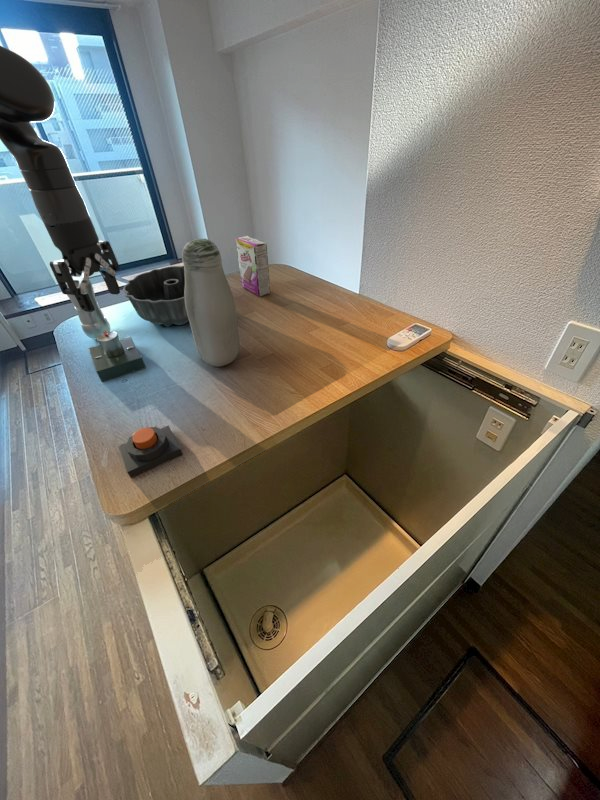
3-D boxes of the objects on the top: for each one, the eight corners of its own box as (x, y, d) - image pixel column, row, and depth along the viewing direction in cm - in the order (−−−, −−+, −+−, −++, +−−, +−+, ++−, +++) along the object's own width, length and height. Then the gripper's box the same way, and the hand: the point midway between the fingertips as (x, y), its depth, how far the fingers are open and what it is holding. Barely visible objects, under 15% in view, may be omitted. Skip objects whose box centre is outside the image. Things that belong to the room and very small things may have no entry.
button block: (130, 478, 55) (123, 465, 53) (121, 451, 59) (114, 439, 57) (182, 454, 59) (177, 441, 56) (170, 431, 63) (165, 418, 61)
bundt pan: (182, 342, 88) (172, 308, 81) (115, 322, 97) (101, 289, 90) (239, 304, 105) (235, 273, 99) (177, 290, 115) (170, 260, 108)
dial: (126, 353, 79) (118, 336, 75) (106, 359, 77) (97, 342, 74) (122, 345, 81) (114, 328, 78) (103, 351, 79) (94, 333, 76)
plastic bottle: (89, 332, 93) (53, 259, 80) (114, 328, 94) (83, 256, 81) (85, 343, 88) (46, 268, 75) (112, 339, 90) (78, 264, 77)
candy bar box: (241, 287, 115) (234, 237, 105) (252, 284, 118) (247, 235, 107) (259, 297, 109) (254, 245, 98) (271, 293, 111) (267, 242, 101)
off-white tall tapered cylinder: (226, 377, 76) (201, 251, 57) (192, 366, 79) (158, 244, 61) (250, 356, 83) (234, 237, 64) (217, 346, 86) (193, 231, 68)
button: (138, 452, 55) (134, 446, 54) (133, 439, 57) (129, 432, 56) (159, 443, 57) (156, 436, 55) (154, 431, 59) (151, 424, 58)
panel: (146, 367, 79) (141, 356, 77) (101, 382, 75) (95, 371, 73) (134, 346, 87) (130, 335, 85) (93, 358, 83) (87, 347, 81)
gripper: (75, 207, 64) (108, 287, 75) (15, 225, 54) (63, 316, 65) (109, 208, 63) (137, 289, 74) (54, 227, 53) (96, 319, 63)
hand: (103, 302), depth 69 cm, fingers open, 8 cm apart
